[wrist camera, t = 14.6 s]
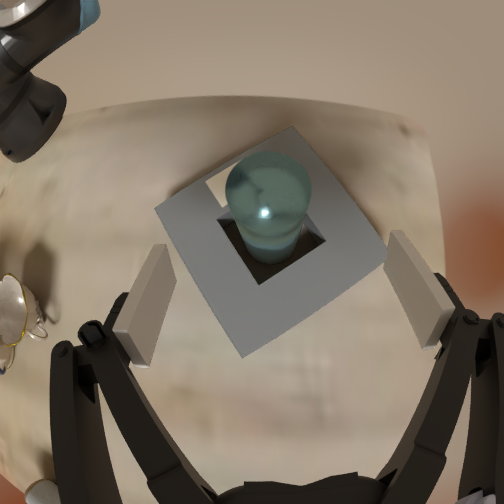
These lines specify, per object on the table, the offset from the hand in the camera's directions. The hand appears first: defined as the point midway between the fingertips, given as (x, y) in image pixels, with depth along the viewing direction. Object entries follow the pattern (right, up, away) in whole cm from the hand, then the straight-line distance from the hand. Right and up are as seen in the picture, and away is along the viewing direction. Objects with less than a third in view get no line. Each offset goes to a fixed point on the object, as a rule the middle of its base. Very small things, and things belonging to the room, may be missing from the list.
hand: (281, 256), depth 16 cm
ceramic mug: (-30, -38, +6) cm, 49 cm away
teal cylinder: (0, +2, +12) cm, 12 cm away
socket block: (0, +2, +12) cm, 12 cm away
